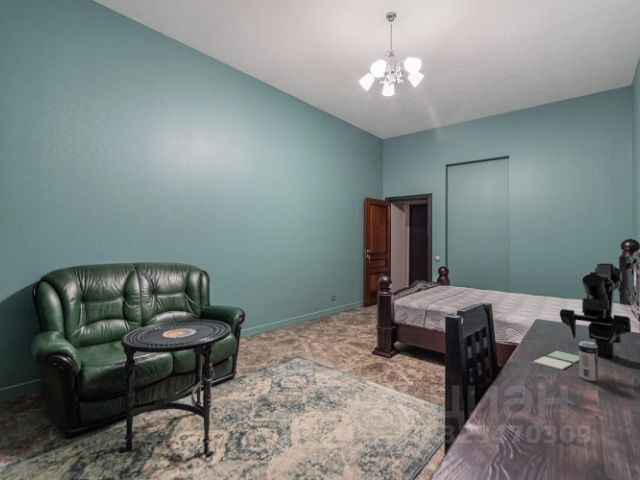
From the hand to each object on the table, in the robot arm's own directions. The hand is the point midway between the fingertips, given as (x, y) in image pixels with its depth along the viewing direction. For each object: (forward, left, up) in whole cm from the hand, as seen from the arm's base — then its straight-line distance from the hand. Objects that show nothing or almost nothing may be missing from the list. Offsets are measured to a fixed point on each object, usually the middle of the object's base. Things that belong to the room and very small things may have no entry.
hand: (590, 340), depth 108 cm
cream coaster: (-1, -12, -12) cm, 17 cm away
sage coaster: (-12, -12, -12) cm, 21 cm away
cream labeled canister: (+5, +1, -12) cm, 13 cm away
